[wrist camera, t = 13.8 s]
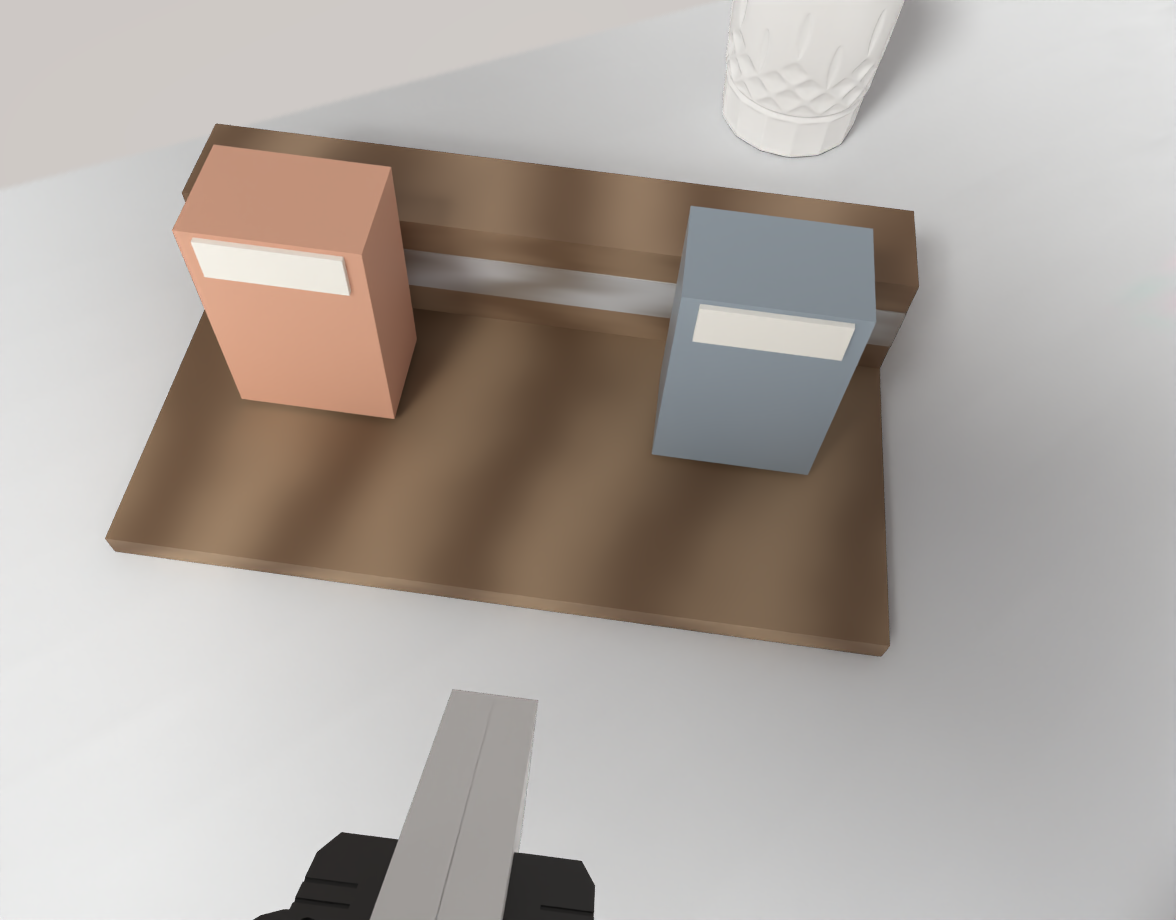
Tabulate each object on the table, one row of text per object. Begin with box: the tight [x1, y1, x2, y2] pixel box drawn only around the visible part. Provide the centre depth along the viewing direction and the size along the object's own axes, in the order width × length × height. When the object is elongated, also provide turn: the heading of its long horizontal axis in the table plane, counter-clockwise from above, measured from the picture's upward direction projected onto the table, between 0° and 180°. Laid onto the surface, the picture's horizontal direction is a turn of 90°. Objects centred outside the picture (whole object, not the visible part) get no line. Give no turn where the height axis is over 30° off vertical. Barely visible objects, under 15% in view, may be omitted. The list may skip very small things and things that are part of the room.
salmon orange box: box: [172, 145, 417, 419], centre depth 36 cm, size 6×4×9 cm
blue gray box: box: [652, 206, 876, 475], centre depth 36 cm, size 6×4×9 cm
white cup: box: [723, 0, 905, 157], centre depth 47 cm, size 8×8×10 cm
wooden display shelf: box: [105, 124, 919, 657], centre depth 38 cm, size 28×16×6 cm, turn 83°
